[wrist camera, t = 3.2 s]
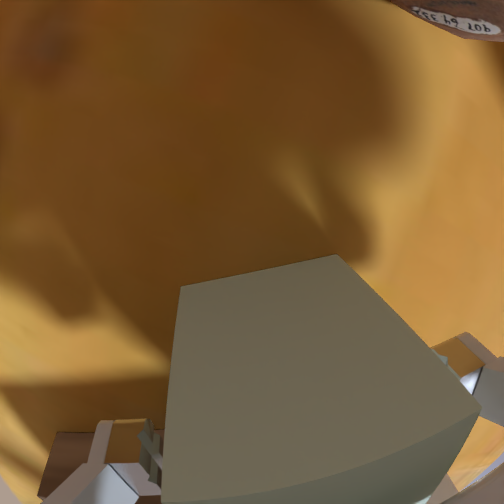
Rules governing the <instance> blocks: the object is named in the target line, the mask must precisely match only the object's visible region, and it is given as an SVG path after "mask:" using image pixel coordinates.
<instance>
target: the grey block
mask: <svg viewBox="0 0 504 504" xmlns="http://www.w3.org/2000/svg"><path fill="white" fill-rule="evenodd" d="M457 493H459V492H458V490H457V489H456V487H455V486H454V484H453V482H452V481H451V479H450V477H449V476H448V474H447V473H446V475H445V476H444V478H443V479H442V481H441V482H440V484H439V485H438V487H437V488H436V490H435V491H434V493H433V494H432V495H431V497H430V498H429V500H428V501H427V502H426V504H440V503H442V502H443V501H445V500H447V499H449V498H450V497H452V496H454V495H456V494H457Z"/></svg>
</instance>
